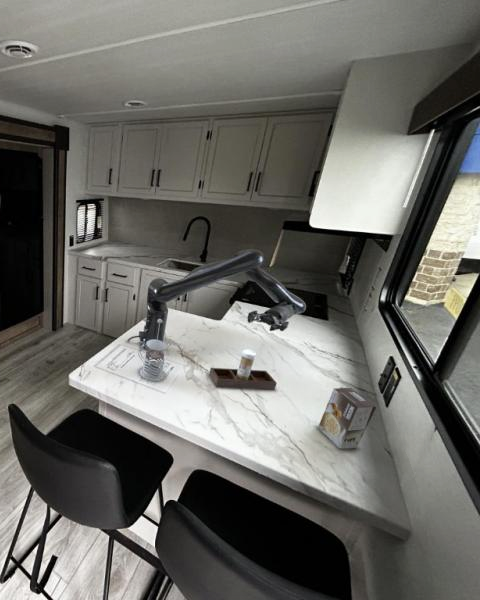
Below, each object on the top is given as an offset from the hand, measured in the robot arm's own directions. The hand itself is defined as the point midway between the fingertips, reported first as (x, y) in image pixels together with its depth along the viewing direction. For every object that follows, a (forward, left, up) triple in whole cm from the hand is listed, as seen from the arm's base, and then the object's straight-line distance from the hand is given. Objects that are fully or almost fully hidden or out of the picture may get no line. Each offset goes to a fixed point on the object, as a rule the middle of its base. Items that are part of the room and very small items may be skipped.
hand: (259, 324), depth 127 cm
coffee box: (+13, -36, -22) cm, 44 cm away
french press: (-42, -6, -22) cm, 48 cm away
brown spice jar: (-6, -9, -22) cm, 24 cm away
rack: (-6, -9, -22) cm, 25 cm away
